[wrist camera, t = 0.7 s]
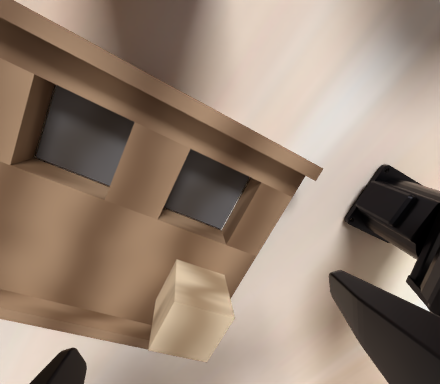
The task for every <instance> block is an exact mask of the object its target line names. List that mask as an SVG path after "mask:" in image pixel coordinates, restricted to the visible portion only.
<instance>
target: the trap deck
mask: <svg viewBox="0 0 440 384" xmlns="http://www.w3.org/2000/svg"><path fill="white" fill-rule="evenodd" d="M55 84H56V85H57V86H56V89H55V93H54V96H53V100H52V103H51V107H50V110H49V113H48V117H47V120H46V124H45V127H44V131H43V134H42V137H41V141H40V144H39V148H38V151H37V155H36V157H37V158H39V159H42V160H45V161H47V162H50V163H52V164H55V165H57V166H60V167H63V168H65V169H68V170H70V171H73V172H75V173H78V174H81V175H83V176H86V177H88V178H91V179H93V180H96V181H99V182H101V183H104V184H106V185H109V186H110V187H108V186H105V185H103V184H100V183H98V182H95V181H92V180H90V179H87V178H85V177H82V176H79V175H77V174H74V173H72V172H69V171H66V170H64V169H61V168H59V167H56V166H54V165H51V164H48V163H46V162H43V161H41V160H38V159H35V158H34V155H35V152H36V148H37V145H38V141H39V138H40V135H41V131H42V128H43V124H44V121H45V117H46V114H47V110H48V107H49V103H50V100H51V97H52V93H53V90H54V86H55ZM322 170H323V168H321V167H319V166H317V165H316V164H314V163H312V162H310V161H308V160H306V159H305V158H303V157H301V156H299V155H297V154H295V153H294V152H292V151H290V150H288V149H286V148H284V147H282V146H281V145H279V144H277V143H275V142H273V141H271V140H270V139H268V138H266V137H264V136H262V135H260V134H259V133H257V132H255V131H253V130H251V129H249V128H248V127H246V126H244V125H242V124H240V123H238V122H236V121H235V120H233V119H231V118H229V117H227V116H225V115H224V114H222V113H220V112H218V111H216V110H214V109H213V108H211V107H209V106H207V105H205V104H203V103H202V102H200V101H198V100H196V99H194V98H192V97H190V96H189V95H187V94H185V93H183V92H181V91H179V90H178V89H176V88H174V87H172V86H170V85H168V84H167V83H165V82H163V81H161V80H159V79H157V78H155V77H154V76H152V75H150V74H148V73H146V72H144V71H143V70H141V69H139V68H137V67H135V66H133V65H132V64H130V63H128V62H126V61H124V60H122V59H121V58H119V57H117V56H115V55H113V54H111V53H109V52H108V51H106V50H104V49H102V48H100V47H98V46H97V45H95V44H93V43H91V42H89V41H87V40H86V39H84V38H82V37H80V36H78V35H76V34H75V33H73V32H71V31H69V30H67V29H65V28H63V27H62V26H60V25H58V24H56V23H54V22H52V21H51V20H49V19H47V18H45V17H43V16H41V15H40V14H38V13H36V12H34V11H32V10H30V9H29V8H27V7H25V6H23V5H21V4H19V3H17V2H16V1H14V0H0V319H4V320H9V321H14V322H18V323H23V324H28V325H33V326H38V327H43V328H47V329H52V330H57V331H62V332H67V333H71V334H76V335H81V336H86V337H91V338H96V339H100V340H105V341H110V342H115V343H120V344H125V345H129V346H134V347H139V348H144V349H148V348H149V341H150V335H151V328H152V322H153V315H154V308H155V302H156V299H157V297H158V295H159V293H160V291H161V289H162V287H163V285H164V283H165V281H166V279H167V277H168V275H169V273H170V271H171V269H172V267H173V265H174V264H175V262H176V260H180V261H183V262H187V263H190V264H193V265H196V266H199V267H202V268H205V269H208V270H211V271H214V272H217V273H220V274H223V275H225V279H226V283H227V287H228V292H229V296H230V299H231V297H232V295H233V294H234V292H235V290H236V289H237V287H238V286H239V284H240V282H241V281H242V279H243V277H244V276H245V274H246V272H247V271H248V269H249V267H250V266H251V264H252V263H253V261H254V259H255V258H256V256H257V254H258V253H259V251H260V249H261V248H262V246H263V245H264V243H265V241H266V240H267V238H268V236H269V235H270V233H271V231H272V230H273V228H274V227H275V225H276V223H277V222H278V220H279V218H280V217H281V215H282V213H283V212H284V210H285V208H286V207H287V205H288V204H289V202H290V200H291V199H292V197H293V195H294V194H295V192H296V190H297V189H298V187H299V186H300V184H301V182H302V181H303V179H304V177H305V176H307V177H309V178H311V179H313V180H315V181H316V180H317V178H318V176H319V175H320V173H321V172H322ZM249 177H251V178H250V180H249V182H248V184H247V185H246V183H247V181H248V179H249ZM245 185H246V187H245V189H244V191H243V193H242V195H241V196H240V194H241V192H242V190H243V188H244V186H245ZM239 196H240V198H239V200H238V202H237V204H236V206H235V207H234V205H235V203H236V201H237V199H238V197H239ZM163 207H166V208H168V209H171V210H173V211H176V212H178V213H181V214H184V215H186V216H189V217H191V218H194V219H196V220H199V221H202V222H204V223H207V224H209V225H212V226H214V227H217V228H220V229H221V228H222V227H223V225H224V223H225V221H226V219H227V217H228V216H229V214H230V212H231V210H232V208H233V207H234V209H233V211H232V213H231V215H230V216H229V218H228V220H227V222H226V224H225V226H224V227H223V229H222V230H219V229H216V228H214V227H211V226H209V225H206V224H204V223H201V222H198V221H196V220H193V219H191V218H188V217H185V216H183V215H180V214H178V213H175V212H172V211H170V210H167V209H165V208H163Z"/></svg>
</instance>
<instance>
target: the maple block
mask: <svg viewBox="0 0 440 384" xmlns="http://www.w3.org/2000/svg"><path fill="white" fill-rule="evenodd" d="M234 319H235V316H234V312H233V308H232V304H231V300H230V296H229V292H228V287H227V283H226V279H225V275H223V274H220V273H217V272H214V271H211V270H208V269H205V268H202V267H199V266H196V265H193V264H190V263H187V262H183V261H180V260H176V262H175V264H174V265H173V267H172V269H171V271H170V273H169V275H168V277H167V279H166V281H165V283H164V285H163V287H162V289H161V291H160V293H159V295H158V297H157V299H156V302H155V308H154V315H153V322H152V328H151V335H150V341H149V348H148V350H149V351H154V352H159V353H163V354H168V355H173V356H178V357H183V358H188V359H192V360H197V361H202V362H207V361H208V360H209V358H210V356H211V355H212V353H213V352H214V350H215V349H216V347H217V345H218V344H219V342H220V341H221V339H222V338H223V336H224V334H225V333H226V331H227V330H228V328H229V326H230V325H231V323H232V322H233V320H234Z"/></svg>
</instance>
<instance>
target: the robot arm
mask: <svg viewBox="0 0 440 384" xmlns="http://www.w3.org/2000/svg"><path fill="white" fill-rule="evenodd" d="M385 169H386V170H385ZM384 171H385V172H384ZM351 218H352V219H351ZM350 219H351V220H350ZM345 222H347V223H348V224H350V225H352V226H354V227H356V228H358V229H360V230H362V231H364V232H366V233H368V234H371V235H373V236H375V237H377V238H379V239H381V240H383V241H385V242H387V243H392V244H393V245H395V246H396V247H398V248H399V249H401V250H403V251H404V252H406V253H407V254H409V255H410V256H412V257H413V258H415V259H417V261H416V263H415V265H414V268H413V270H412V272H411V274H410V275H408V278H407V280H406V282H407V283H408V285H409V286H410V287H411V288H412V289H413V291H414V292H415V293H416V294H417V295H418V297H419V298H420V299H421V300H422V301H423V302H424V304H425V305H426V306H427V307H428V309H429V310H430V312H429V311H427V310H425V309H423V308H421V307H418V306H416V305H414V304H412V303H410V302H408V301H406V300H404V299H401V298H399V297H397V296H395V295H393V294H391V293H389V292H387V291H384V290H382V289H380V288H378V287H376V286H374V285H372V284H370V283H368V282H365V281H363V280H361V279H359V278H357V277H355V276H353V275H351V274H348V273H346V272H344V271H342V270H338V271H335V272H331V273H330V274H329V284H330V292H331V295H332V297H333V299H334V301H335V302H336V304H337V306H338V308H339V309H340V311H341V313H342V314H343V316H344V318H345V319H346V321H347V323H348V325H349V326H350V328H351V330H352V331H353V333H354V335H355V336H356V338H357V340H358V341H359V343H360V344H361V346H362V347H363V349H364V350H365V351H366V353H367V354H368V356H369V357H370V358H371V360H372V361H373V362H374V364H375V365H376V367H377V368H378V369H379V371H380V372H381V374H382V375H383V376H384V378H385V379H386V381H387V382H388V383H389V384H440V191H438V190H434V189H431V188H428V187H425V186H423V185H421V184H419V183H418V182H416V181H414V180H413V179H411V178H409V177H408V176H406V175H405V174H403V173H401V172H400V171H398V170H396V169H395V168H393V167H391V166H389V165H386V164H384V165H382V166H381V167H380V168H379V169H378V171H377V172H376V174H375V175H374V176H373V178H372V179H371V181H370V182H369V184H368V185H367V187H366V188H365V190H364V191H363V192H362V194H361V195H360V197H359V198H358V200H357V201H356V203H355V204H354V205H353V207H352V208H351V210H350V211H349V213H348V214H347V216H346V217H345ZM86 370H87V366H86V362H85V361H84V359H83V358H82V356H81V355H80V353H79V352H78V350H77V349H76V348H70V349H66V350H63V351H61V352H60V353H59V354H58V355H57V356H56V357H55V358H54V359H53V360H52V361H51V362H50V363H49V364H48V365H47V366H46V367H45V368H44V369H43V370H42V371H41V372H40V373H39V374H38V375H37V376H36V377H35V379H34V380H33V381H32V382H31V383H30V384H84V380H85V375H86Z"/></svg>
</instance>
